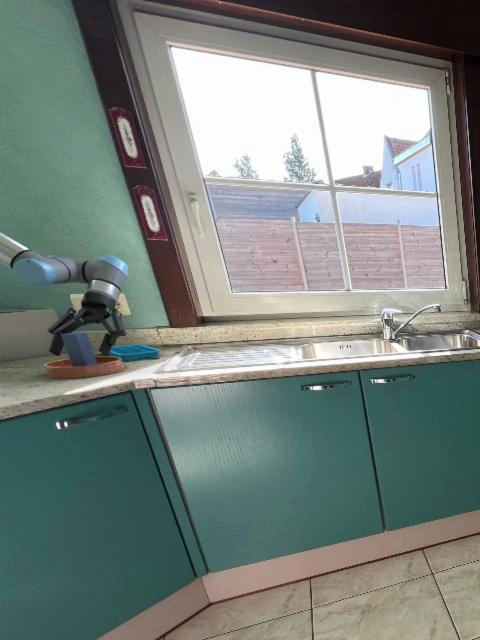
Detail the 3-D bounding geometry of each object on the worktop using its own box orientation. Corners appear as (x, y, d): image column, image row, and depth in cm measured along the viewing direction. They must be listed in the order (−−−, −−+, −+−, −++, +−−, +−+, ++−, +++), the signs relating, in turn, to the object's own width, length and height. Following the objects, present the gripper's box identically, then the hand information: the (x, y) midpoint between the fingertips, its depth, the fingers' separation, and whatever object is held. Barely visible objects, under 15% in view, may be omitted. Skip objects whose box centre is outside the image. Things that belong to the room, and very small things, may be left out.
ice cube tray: (142, 352, 187) (139, 344, 186) (165, 358, 177) (162, 350, 176) (101, 356, 178) (98, 348, 176) (123, 364, 168) (120, 355, 167)
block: (75, 373, 152) (60, 334, 147) (86, 370, 156) (71, 332, 151) (89, 373, 152) (75, 334, 148) (100, 370, 156) (86, 332, 152)
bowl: (41, 383, 143) (36, 369, 142) (56, 371, 156) (51, 359, 155) (120, 376, 152) (116, 363, 151) (129, 366, 165) (125, 354, 164)
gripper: (151, 306, 164) (133, 360, 156) (67, 305, 161) (44, 360, 153) (134, 291, 157) (114, 346, 149) (46, 290, 154) (21, 346, 146)
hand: (79, 353), depth 151 cm, fingers open, 13 cm apart
